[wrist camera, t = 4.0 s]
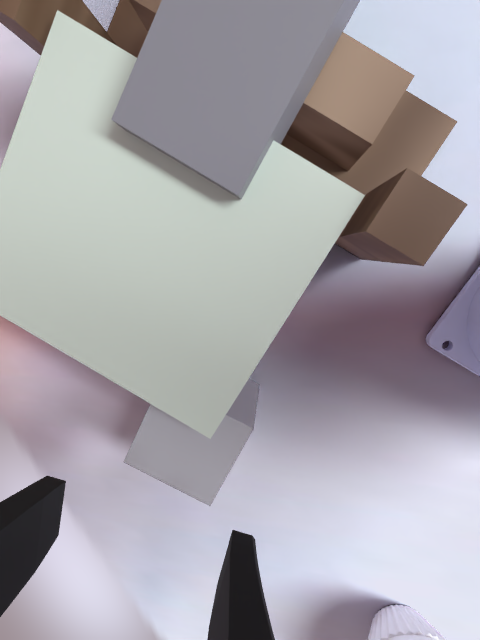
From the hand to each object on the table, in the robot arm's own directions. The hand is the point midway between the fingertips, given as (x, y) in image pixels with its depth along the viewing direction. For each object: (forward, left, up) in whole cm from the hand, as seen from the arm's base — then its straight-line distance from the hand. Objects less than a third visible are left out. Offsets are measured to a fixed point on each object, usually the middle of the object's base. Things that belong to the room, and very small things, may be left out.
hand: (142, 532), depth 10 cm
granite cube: (0, 0, -10) cm, 10 cm away
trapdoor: (+5, -11, -5) cm, 13 cm away
